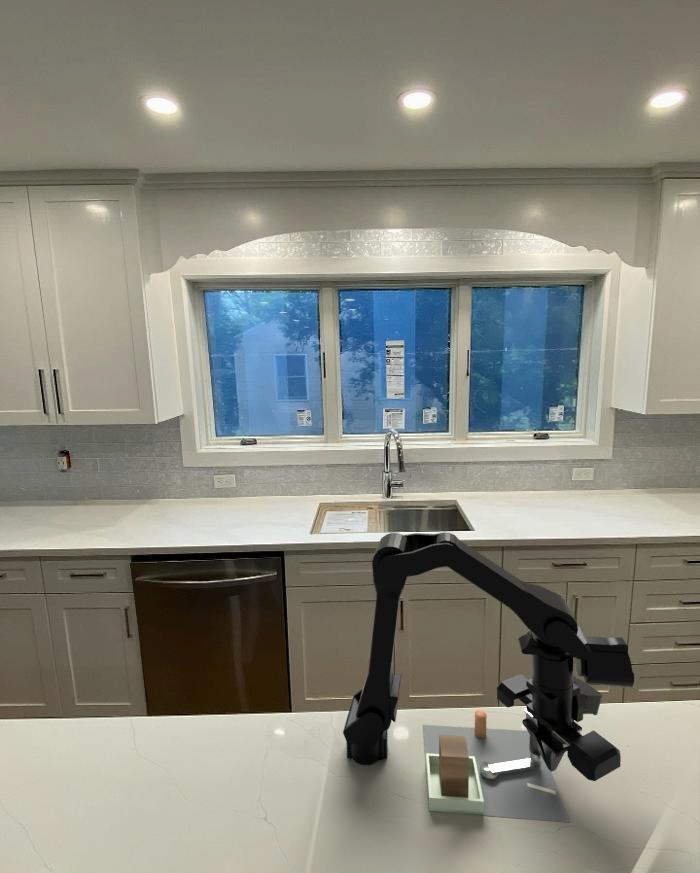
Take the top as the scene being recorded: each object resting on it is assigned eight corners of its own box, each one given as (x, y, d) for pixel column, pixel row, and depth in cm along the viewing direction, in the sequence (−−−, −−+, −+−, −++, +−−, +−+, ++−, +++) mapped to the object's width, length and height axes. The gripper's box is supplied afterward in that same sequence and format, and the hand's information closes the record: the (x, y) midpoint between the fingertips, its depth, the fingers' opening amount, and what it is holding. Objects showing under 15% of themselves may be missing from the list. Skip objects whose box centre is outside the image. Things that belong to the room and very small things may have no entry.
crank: (484, 781, 71) (484, 754, 70) (476, 766, 73) (477, 740, 73) (545, 771, 72) (546, 745, 71) (536, 757, 75) (537, 731, 74)
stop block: (468, 799, 68) (468, 757, 67) (441, 797, 68) (441, 756, 67) (464, 775, 72) (465, 736, 71) (439, 773, 72) (439, 734, 71)
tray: (429, 810, 67) (429, 797, 66) (426, 765, 74) (426, 753, 74) (483, 814, 66) (483, 801, 65) (474, 768, 73) (474, 756, 73)
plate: (428, 818, 67) (428, 787, 66) (422, 730, 83) (422, 705, 82) (570, 829, 64) (571, 797, 64) (535, 737, 81) (536, 711, 80)
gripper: (648, 698, 63) (645, 797, 65) (543, 633, 80) (543, 713, 82) (592, 726, 59) (591, 831, 61) (494, 651, 76) (495, 735, 78)
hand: (552, 769), depth 71 cm, fingers closed
